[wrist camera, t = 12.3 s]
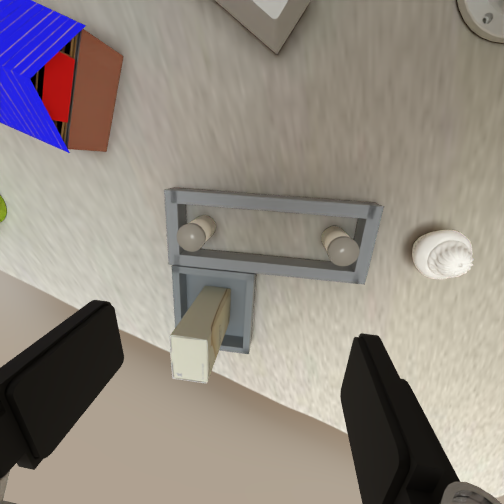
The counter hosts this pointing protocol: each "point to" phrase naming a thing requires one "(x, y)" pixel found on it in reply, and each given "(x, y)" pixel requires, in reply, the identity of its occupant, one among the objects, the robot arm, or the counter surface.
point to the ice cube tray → (267, 18)
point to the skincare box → (200, 335)
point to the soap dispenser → (2, 209)
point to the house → (55, 77)
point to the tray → (241, 306)
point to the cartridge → (340, 246)
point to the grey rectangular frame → (266, 264)
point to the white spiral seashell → (442, 254)
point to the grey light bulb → (196, 233)
